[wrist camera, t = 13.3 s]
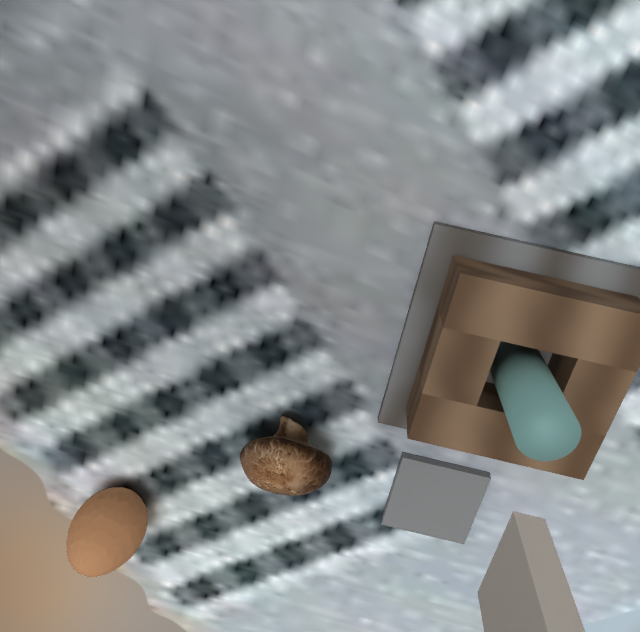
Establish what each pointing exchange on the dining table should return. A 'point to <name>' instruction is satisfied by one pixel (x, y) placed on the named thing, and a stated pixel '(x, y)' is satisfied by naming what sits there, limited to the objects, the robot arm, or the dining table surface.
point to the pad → (434, 498)
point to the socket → (517, 328)
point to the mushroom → (286, 461)
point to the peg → (534, 404)
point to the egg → (106, 531)
